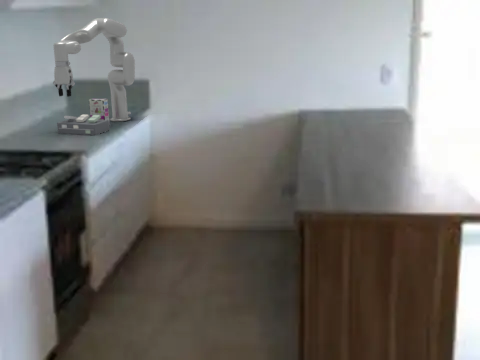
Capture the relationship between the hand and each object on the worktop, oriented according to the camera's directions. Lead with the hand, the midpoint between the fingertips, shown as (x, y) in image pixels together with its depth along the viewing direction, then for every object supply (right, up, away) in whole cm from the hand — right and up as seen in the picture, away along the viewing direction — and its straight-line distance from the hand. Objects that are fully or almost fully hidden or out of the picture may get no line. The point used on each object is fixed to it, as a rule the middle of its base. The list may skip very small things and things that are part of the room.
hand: (65, 95), depth 403 cm
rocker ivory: (+9, -13, +4) cm, 16 cm away
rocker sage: (+17, -13, +1) cm, 21 cm away
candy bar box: (+16, -16, +23) cm, 32 cm away
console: (+9, -20, +6) cm, 23 cm away
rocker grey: (+2, -12, +7) cm, 14 cm away
